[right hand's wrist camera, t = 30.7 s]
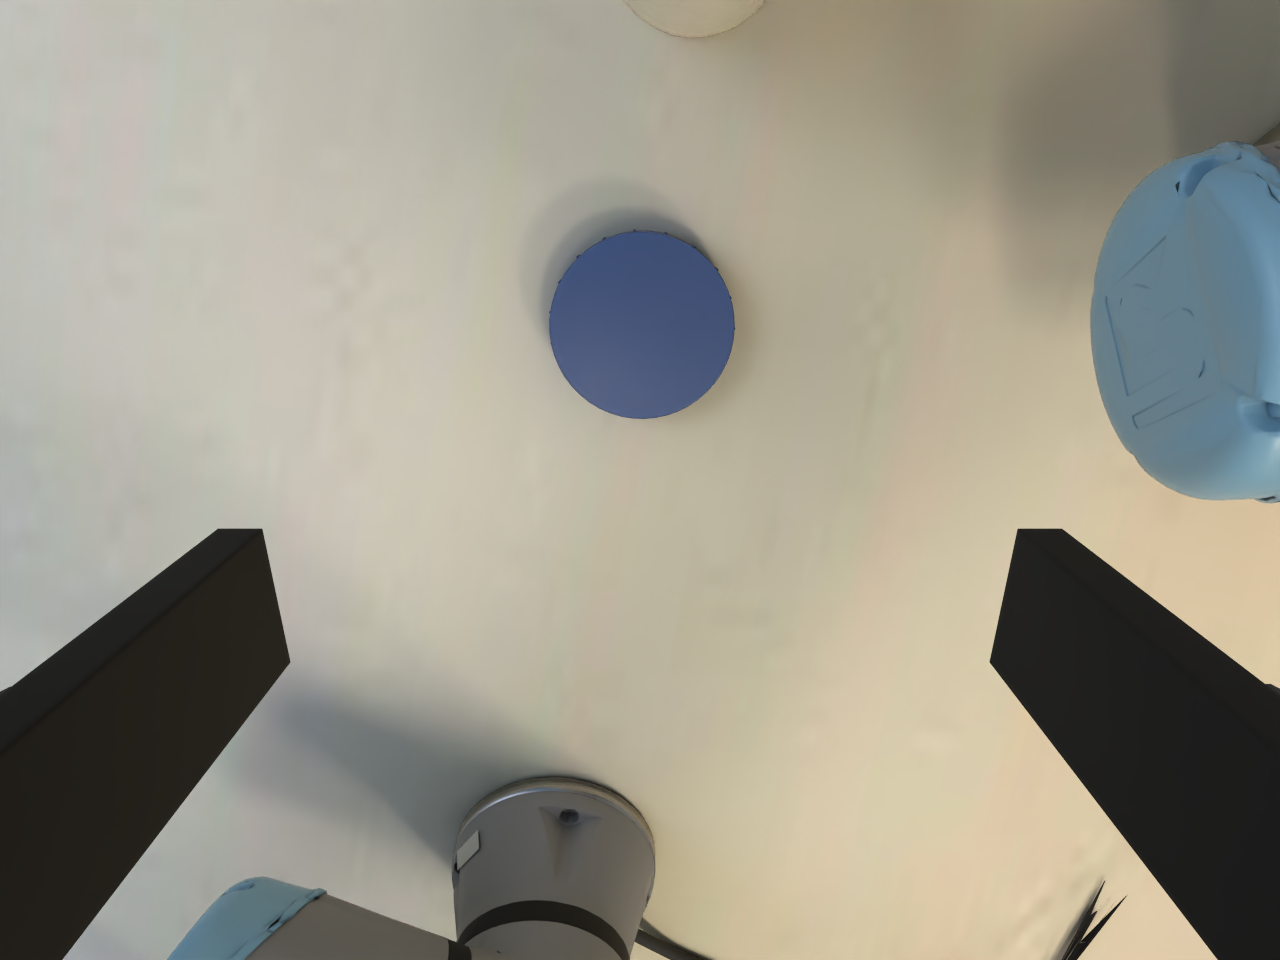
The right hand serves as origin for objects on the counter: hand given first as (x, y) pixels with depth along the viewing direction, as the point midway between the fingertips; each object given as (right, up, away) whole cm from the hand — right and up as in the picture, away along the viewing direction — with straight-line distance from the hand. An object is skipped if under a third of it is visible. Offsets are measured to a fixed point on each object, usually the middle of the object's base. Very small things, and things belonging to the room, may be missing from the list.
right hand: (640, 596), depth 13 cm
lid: (0, +10, +26) cm, 28 cm away
